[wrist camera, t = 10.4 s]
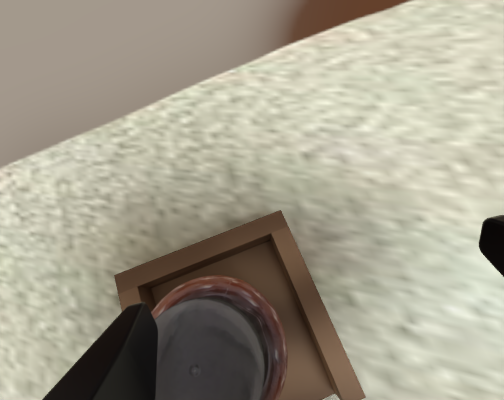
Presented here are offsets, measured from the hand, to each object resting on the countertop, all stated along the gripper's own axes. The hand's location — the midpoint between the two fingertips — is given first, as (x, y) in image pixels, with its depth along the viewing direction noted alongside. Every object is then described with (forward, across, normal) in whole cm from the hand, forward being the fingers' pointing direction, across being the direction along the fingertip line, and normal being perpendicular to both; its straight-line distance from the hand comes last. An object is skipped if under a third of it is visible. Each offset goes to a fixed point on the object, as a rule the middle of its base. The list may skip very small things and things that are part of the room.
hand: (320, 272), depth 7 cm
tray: (+8, +4, +11) cm, 14 cm away
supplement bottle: (+8, +4, +10) cm, 14 cm away
